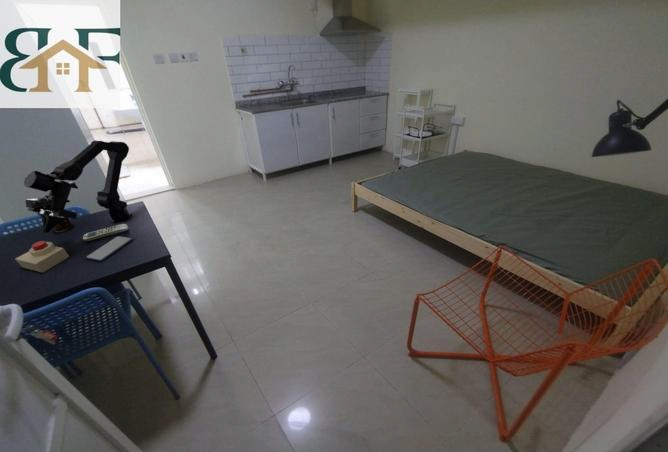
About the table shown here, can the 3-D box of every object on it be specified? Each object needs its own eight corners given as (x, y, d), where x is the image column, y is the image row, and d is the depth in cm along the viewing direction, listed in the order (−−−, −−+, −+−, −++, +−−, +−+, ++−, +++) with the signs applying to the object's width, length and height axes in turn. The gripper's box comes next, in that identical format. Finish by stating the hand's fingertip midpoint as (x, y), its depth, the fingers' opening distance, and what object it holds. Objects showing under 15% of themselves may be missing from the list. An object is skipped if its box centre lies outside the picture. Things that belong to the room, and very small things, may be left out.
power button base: (49, 252, 118) (40, 239, 115) (69, 256, 115) (60, 244, 112) (22, 267, 110) (11, 254, 107) (42, 272, 107) (32, 259, 104)
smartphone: (85, 257, 113) (117, 235, 125) (86, 258, 114) (118, 237, 125) (100, 260, 111) (132, 238, 123) (101, 262, 112) (133, 239, 123)
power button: (43, 244, 113) (40, 240, 112) (50, 245, 112) (47, 241, 111) (32, 250, 110) (28, 246, 108) (39, 251, 109) (35, 247, 107)
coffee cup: (56, 226, 136) (39, 202, 129) (76, 221, 139) (61, 198, 132) (49, 235, 129) (32, 211, 122) (71, 230, 132) (55, 206, 125)
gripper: (17, 186, 109) (3, 225, 106) (50, 191, 104) (36, 232, 101) (52, 195, 119) (39, 230, 117) (83, 200, 114) (70, 237, 112)
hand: (45, 232), depth 111 cm, fingers closed
